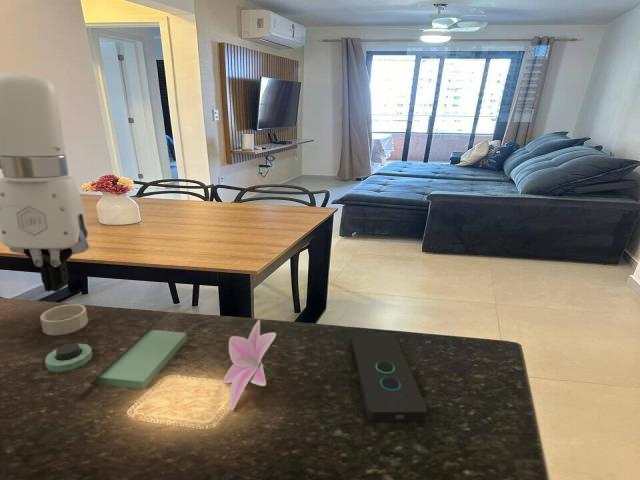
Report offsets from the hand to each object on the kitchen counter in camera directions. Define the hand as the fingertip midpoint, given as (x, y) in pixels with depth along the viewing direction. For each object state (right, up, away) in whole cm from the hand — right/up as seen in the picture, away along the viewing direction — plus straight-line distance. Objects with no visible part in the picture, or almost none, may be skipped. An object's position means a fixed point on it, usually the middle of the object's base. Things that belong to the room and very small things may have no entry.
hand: (56, 287), depth 59 cm
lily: (+30, -15, -2) cm, 34 cm away
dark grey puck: (+2, -11, 0) cm, 11 cm away
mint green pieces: (+8, -12, +4) cm, 15 cm away
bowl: (-5, -10, +10) cm, 15 cm away
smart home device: (+51, -14, +2) cm, 53 cm away
